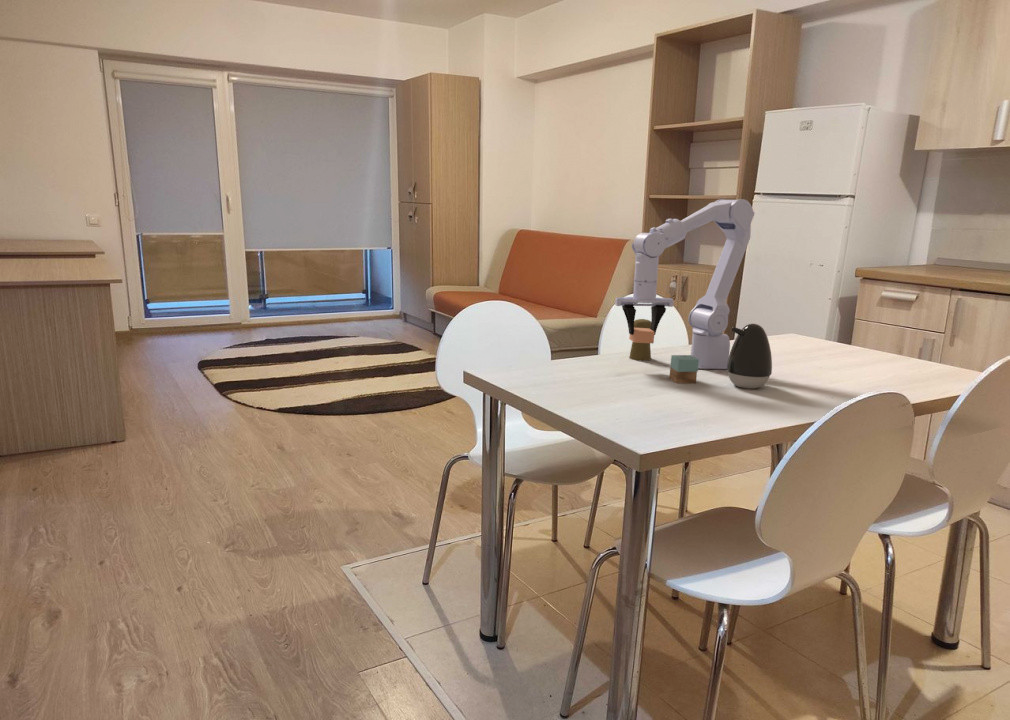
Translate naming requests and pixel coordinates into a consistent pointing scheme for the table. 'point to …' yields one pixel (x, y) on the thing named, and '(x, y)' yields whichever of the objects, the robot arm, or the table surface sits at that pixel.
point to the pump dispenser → (750, 358)
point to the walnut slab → (682, 376)
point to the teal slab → (684, 363)
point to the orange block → (642, 335)
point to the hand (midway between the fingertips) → (642, 334)
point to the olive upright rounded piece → (641, 349)
